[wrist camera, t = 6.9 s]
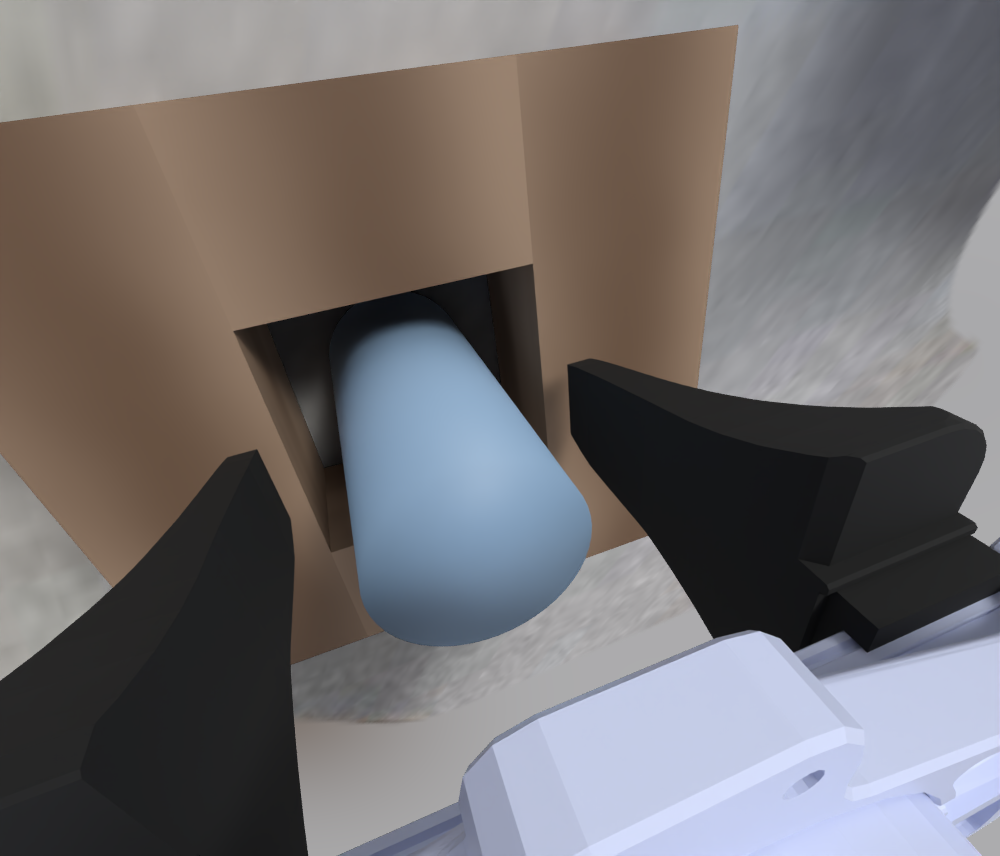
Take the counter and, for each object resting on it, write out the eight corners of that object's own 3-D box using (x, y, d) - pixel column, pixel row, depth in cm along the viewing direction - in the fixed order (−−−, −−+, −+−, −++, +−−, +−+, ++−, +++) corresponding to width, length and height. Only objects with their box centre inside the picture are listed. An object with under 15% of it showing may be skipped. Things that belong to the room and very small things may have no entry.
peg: (351, 427, 16) (394, 675, 9) (310, 309, 14) (323, 513, 7) (469, 393, 17) (594, 598, 10) (447, 277, 15) (588, 431, 8)
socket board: (220, 591, 18) (203, 696, 15) (-77, 141, 10) (-249, 155, 7) (623, 461, 21) (681, 523, 18) (632, 45, 13) (738, 24, 10)
